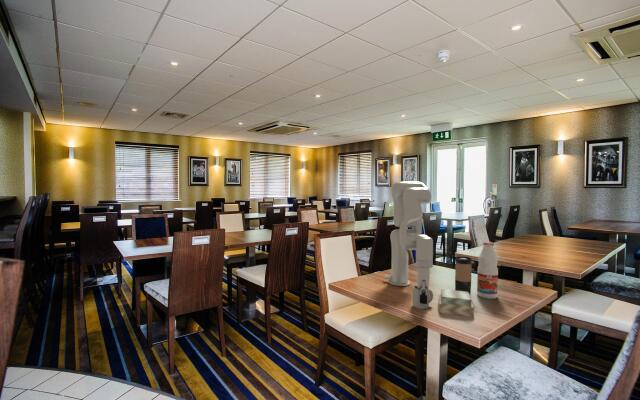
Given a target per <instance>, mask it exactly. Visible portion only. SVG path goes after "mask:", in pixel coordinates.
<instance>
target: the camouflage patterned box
mask: <svg viewBox="0 0 640 400" xmlns="http://www.w3.org/2000/svg"><path fill="white" fill-rule="evenodd" d="M438 312H439V314H440V313H442V314H448V315H457V316H462V317H463V316H466V317H471V318H472V317H473V318H474V317H475V307H474V304H473V301H472V298H471V294H470V295H469V292H466V291H456V290H455V289H454V290H453V289H443V288H441V289H440V294H439V293H438Z"/></svg>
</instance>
